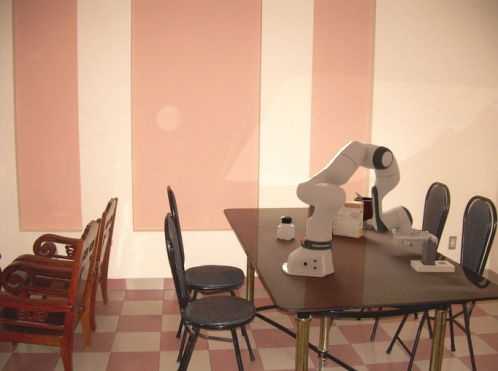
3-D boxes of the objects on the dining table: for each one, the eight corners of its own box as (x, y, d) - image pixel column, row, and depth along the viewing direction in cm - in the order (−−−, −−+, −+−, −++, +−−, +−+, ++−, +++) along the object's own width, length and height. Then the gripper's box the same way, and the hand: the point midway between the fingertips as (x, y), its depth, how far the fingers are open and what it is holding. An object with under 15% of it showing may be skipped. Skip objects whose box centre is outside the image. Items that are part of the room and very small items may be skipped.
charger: (425, 270, 208) (427, 237, 206) (421, 267, 213) (423, 235, 211) (434, 270, 208) (436, 237, 206) (430, 267, 213) (432, 235, 211)
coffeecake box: (362, 235, 273) (364, 201, 270) (358, 238, 266) (360, 203, 264) (337, 232, 280) (338, 198, 277) (332, 234, 274) (334, 200, 271)
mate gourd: (380, 227, 293) (382, 194, 290) (363, 229, 286) (364, 196, 283) (362, 222, 307) (364, 191, 304) (345, 224, 300) (347, 192, 297)
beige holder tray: (417, 275, 207) (418, 265, 206) (410, 269, 214) (411, 260, 214) (454, 275, 207) (454, 266, 207) (445, 269, 215) (446, 260, 214)
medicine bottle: (294, 237, 265) (295, 216, 263) (288, 240, 259) (289, 218, 257) (283, 235, 269) (283, 214, 267) (276, 238, 263) (277, 217, 261)
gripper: (388, 230, 231) (398, 237, 217) (430, 230, 232) (443, 238, 218) (387, 243, 232) (397, 251, 218) (429, 243, 233) (442, 251, 219)
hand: (420, 244), depth 218 cm, fingers open, 8 cm apart
